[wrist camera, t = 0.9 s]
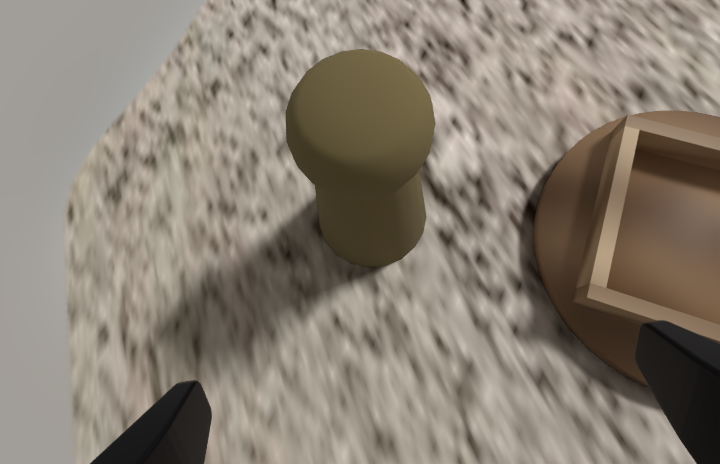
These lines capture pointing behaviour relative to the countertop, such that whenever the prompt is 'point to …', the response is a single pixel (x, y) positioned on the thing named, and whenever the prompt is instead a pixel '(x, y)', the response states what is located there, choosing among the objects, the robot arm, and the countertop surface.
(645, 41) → the countertop surface
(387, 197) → the pepper shaker
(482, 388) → the countertop surface
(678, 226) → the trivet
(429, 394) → the countertop surface
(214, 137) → the countertop surface
